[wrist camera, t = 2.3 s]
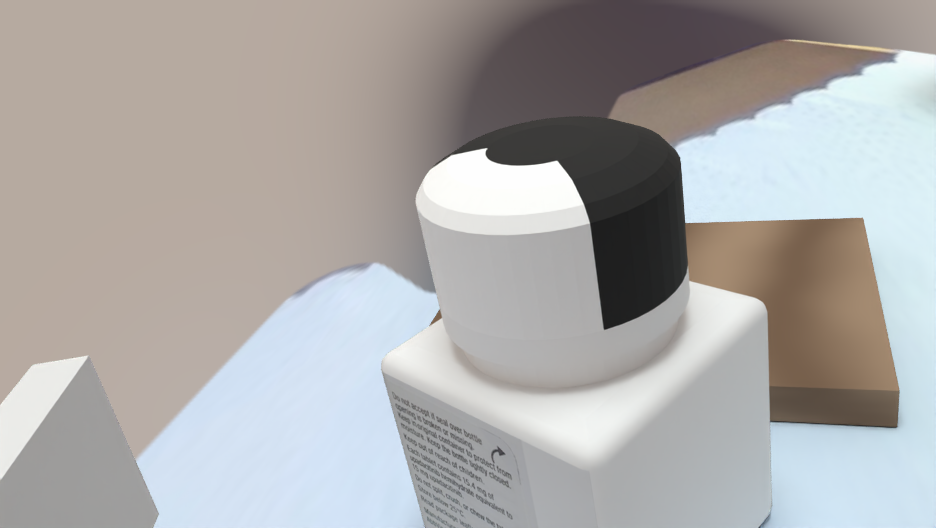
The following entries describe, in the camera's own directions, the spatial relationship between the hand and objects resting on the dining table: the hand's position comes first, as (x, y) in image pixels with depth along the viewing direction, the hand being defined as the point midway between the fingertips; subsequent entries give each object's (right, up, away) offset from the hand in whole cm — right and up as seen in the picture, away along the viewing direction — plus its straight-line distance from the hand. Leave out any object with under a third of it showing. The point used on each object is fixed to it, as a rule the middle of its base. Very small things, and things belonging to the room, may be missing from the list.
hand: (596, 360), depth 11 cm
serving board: (+6, -1, +25) cm, 26 cm away
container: (+2, -7, +15) cm, 17 cm away
